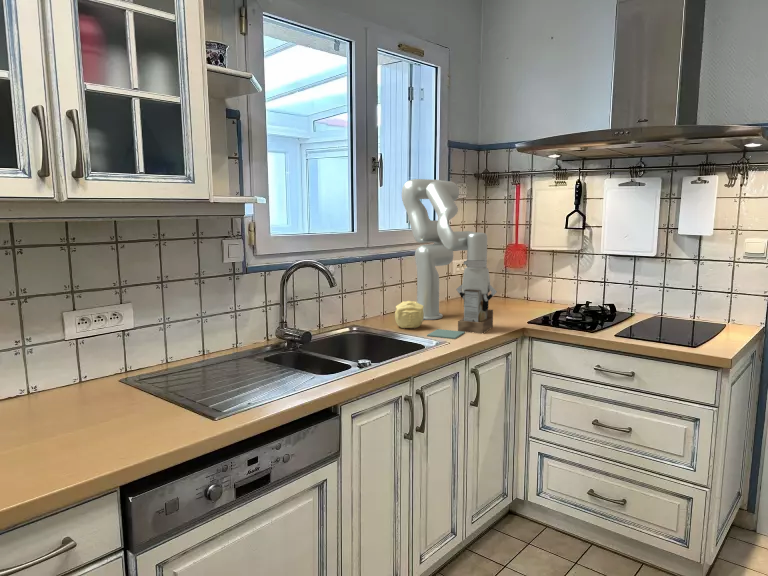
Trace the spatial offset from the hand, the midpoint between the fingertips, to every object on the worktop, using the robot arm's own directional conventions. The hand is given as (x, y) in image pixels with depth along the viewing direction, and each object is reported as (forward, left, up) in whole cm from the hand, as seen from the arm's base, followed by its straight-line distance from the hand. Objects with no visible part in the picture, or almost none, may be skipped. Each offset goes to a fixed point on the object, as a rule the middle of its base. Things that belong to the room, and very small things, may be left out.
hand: (475, 309), depth 219 cm
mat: (-7, -14, -8) cm, 17 cm away
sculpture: (-25, -8, -8) cm, 27 cm away
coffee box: (0, 0, -8) cm, 8 cm away
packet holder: (0, 0, -8) cm, 8 cm away
